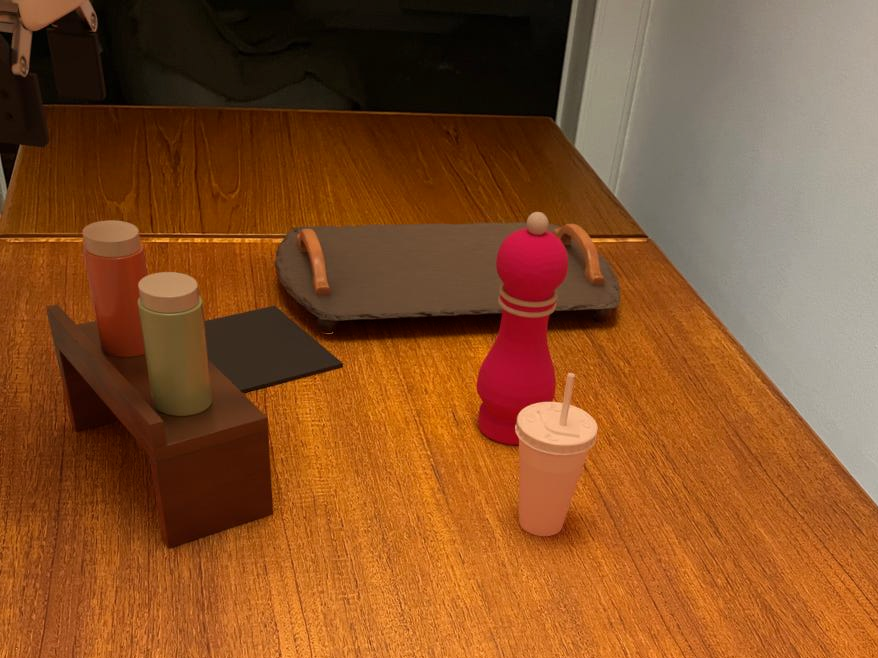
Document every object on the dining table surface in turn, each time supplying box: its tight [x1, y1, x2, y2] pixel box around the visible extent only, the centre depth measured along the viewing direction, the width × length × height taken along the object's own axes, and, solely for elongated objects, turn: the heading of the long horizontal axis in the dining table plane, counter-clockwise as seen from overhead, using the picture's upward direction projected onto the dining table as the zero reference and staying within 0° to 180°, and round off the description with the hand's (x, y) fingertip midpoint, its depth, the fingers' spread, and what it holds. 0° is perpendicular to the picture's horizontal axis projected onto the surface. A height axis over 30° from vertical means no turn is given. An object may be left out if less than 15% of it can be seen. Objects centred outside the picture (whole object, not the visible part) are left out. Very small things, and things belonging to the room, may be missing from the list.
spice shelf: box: [45, 303, 274, 549], centre depth 81 cm, size 20×9×11 cm, turn 37°
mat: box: [204, 305, 344, 394], centre depth 100 cm, size 14×14×1 cm
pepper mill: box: [476, 211, 568, 446], centre depth 88 cm, size 7×7×20 cm
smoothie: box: [515, 372, 599, 537], centre depth 80 cm, size 6×6×14 cm
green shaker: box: [137, 271, 212, 416], centre depth 73 cm, size 4×4×9 cm
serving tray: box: [273, 221, 621, 333], centre depth 113 cm, size 39×23×6 cm, turn 106°
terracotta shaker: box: [82, 219, 149, 357], centre depth 78 cm, size 4×4×9 cm
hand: (54, 119), depth 65 cm, fingers open, 9 cm apart
